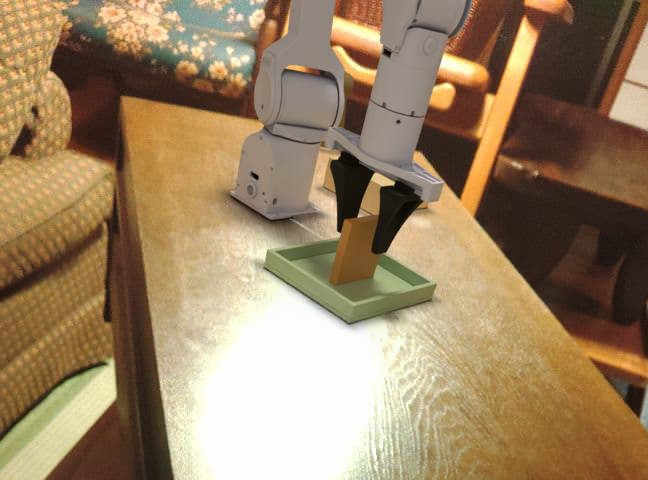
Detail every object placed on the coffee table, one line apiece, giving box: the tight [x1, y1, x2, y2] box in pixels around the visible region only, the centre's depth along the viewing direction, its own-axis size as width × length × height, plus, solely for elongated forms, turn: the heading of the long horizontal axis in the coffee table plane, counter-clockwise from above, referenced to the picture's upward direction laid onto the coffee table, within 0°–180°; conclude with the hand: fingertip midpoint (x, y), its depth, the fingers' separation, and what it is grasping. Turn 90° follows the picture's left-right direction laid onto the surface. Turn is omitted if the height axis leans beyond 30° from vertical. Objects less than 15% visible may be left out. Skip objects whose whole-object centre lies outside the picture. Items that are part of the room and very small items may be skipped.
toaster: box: [322, 155, 429, 216], centre depth 108 cm, size 14×10×4 cm
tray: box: [263, 237, 438, 324], centre depth 84 cm, size 15×13×2 cm
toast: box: [329, 214, 380, 286], centre depth 83 cm, size 7×1×7 cm, turn 138°
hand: (361, 241), depth 82 cm, fingers open, 5 cm apart
